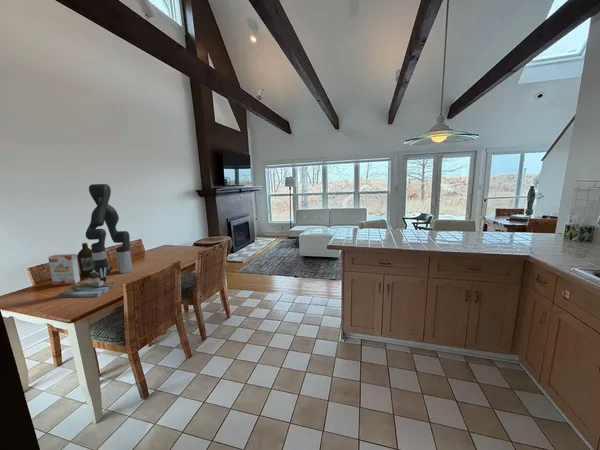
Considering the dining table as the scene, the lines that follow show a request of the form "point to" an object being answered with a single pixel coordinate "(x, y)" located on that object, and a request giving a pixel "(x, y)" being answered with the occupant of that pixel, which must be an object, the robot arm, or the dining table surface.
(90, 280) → the lock bar
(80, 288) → the latched flap box
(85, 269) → the olive oil
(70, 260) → the cracker box
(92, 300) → the dining table surface
